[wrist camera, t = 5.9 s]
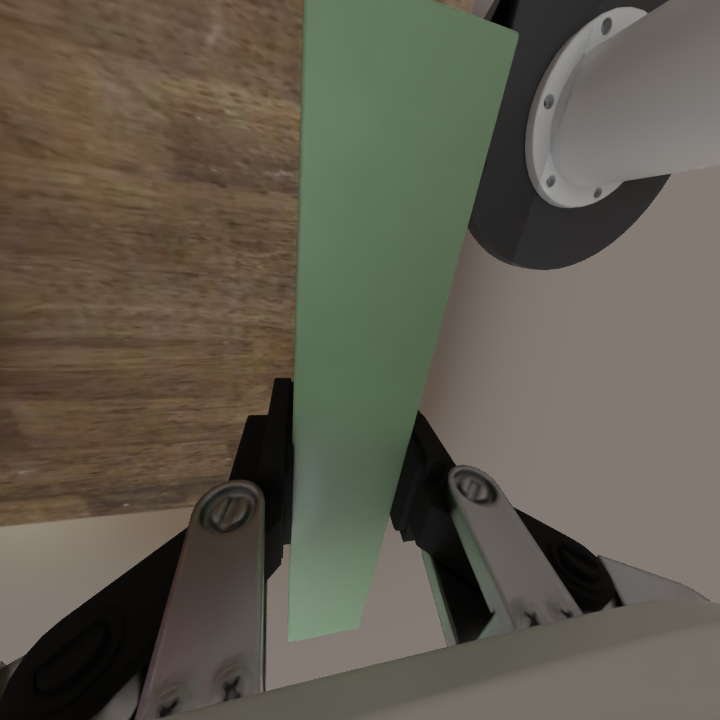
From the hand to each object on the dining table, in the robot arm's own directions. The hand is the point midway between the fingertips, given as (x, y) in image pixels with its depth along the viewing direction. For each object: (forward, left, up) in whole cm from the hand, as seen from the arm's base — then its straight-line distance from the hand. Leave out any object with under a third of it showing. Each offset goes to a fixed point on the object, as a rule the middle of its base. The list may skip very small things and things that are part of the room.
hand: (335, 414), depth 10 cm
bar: (0, 0, -1) cm, 1 cm away
